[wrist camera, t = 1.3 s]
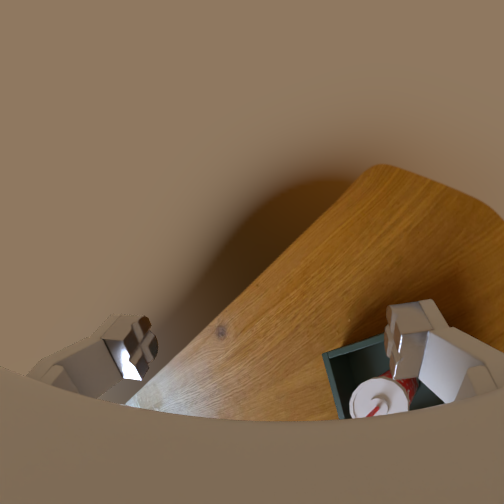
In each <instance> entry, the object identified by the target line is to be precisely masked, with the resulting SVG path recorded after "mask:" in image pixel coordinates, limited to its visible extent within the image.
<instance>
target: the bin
mask: <svg viewBox="0 0 504 504" xmlns="http://www.w3.org/2000/svg"><path fill="white" fill-rule="evenodd" d="M322 357H323V360H324V364H325V368H326V371H327V375H328V379H329V382H330V386H331V390H332V393H333V397H334V401H335V405H336V408H337V412H338V416H339V420H340V419H352V417H351V415H350V406H349V402H350V399H351V397H352V394H353V392H354V391H355V390H356V388H357V387H358V386H359V385H360V384H361V383H363V382H365V381H367V380H369V379H371V378H373V377H378V376H380V375H382V374H383V373H385V372H387V371H388V370H390V367H389V363H390V358H389V357H387V356H386V352H385V346H384V332H383V333H380V334H378V335H375V336H372V337H369V338H366V339H363V340H361V341H358V342H355V343H352V344H349V345H346V346H342V347H340V348H337V349H334V350H331V351H328V352H325V353H323V354H322ZM441 404H445V402H444V401H442V400H441V399H440V398H439V397H438V396H437V395H436V394H435V393H434V392H433V391H432V390H430V389H429V388H428V387H427V386H426V385H425V384H424V383H423V382H422V381H421V380H419V386H418V389H417V391H416V393H415V396H414V398H413V400H412V402H411V404H410V406H409V411H411V410H417V409H422V408H427V407H432V406H436V405H441Z"/></svg>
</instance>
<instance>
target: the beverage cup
mask: <svg viewBox="0 0 504 504" xmlns="http://www.w3.org/2000/svg"><path fill="white" fill-rule="evenodd" d="M418 386H419V379H418V377H416V378H409V379H401V380H393V379H392V375H391V371H390V370H388V371H387V372H385V373H383V374H382V375H380V376H378V377H373V378H371V379H369V380H367V381H365V382H363V383H361V384H360V385H359V386H358V387H357V388H356V390H355V391H354V392H353V394H352V397H351V399H350V402H349V406H350V415H351V417H352V418H362V417H371V416H379V415H386V414H393V413H399V412H405V411H409V406H410V404H411V402H412V400H413V398H414V396H415V393H416V391H417V389H418Z"/></svg>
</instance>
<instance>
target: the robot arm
mask: <svg viewBox="0 0 504 504" xmlns="http://www.w3.org/2000/svg"><path fill="white" fill-rule="evenodd" d="M386 318H387V321H388V325H387V326H386V327H385V331H384V346H385V352H386V356H387V357H389V358H390V363H389V367H390V371H391V375H392V379H393V380H401V379H409V378H416V377H418V379H419V380H421V381H422V382H423V383H424V384H425V385H426V386H427V387H428V388H429V389H430V390H432V391H433V392H434V393H435V394H436V395H437V396H438V397H439V398H440V399H441V400H442V401H444V402H445V404H441V405H436V406H432V407H427V408H422V409H417V410H411V411H405V412H399V413H393V414H386V415H379V416H371V417H362V418H352V419H340V420H324V421H245V420H228V419H215V418H205V417H195V416H187V415H179V414H172V413H165V412H159V411H153V410H147V409H142V408H137V407H131V406H127V405H122V404H117V403H113V402H108V401H104V400H100V399H97V398H98V397H100V396H101V395H102V394H104V393H105V392H106V391H107V390H109V389H110V388H112V387H113V386H114V385H115V384H116V383H118V382H120V381H121V380H122V379H123V378H128V379H136V380H142V379H143V377H144V376H145V374H146V372H147V371H148V369H149V366H148V363H150V362H151V361H153V360H154V359H155V357H156V355H157V352H158V342H157V338H156V336H155V335H154V334H153V333H152V332H151V331H150V328H151V323H150V321H149V318H147V317H146V316H140V315H121V314H113V315H110V316H109V317H108V318H107V319H106V320H105V321H104V323H102V325H101V326H100V327H99V328H98V329H97V330H96V331H95V332H94V333H93V334H92V335H91V337H90V338H89V337H87V338H84V339H82V340H80V341H78V342H76V343H74V344H72V345H70V346H68V347H66V348H64V349H62V350H60V351H58V352H56V353H54V354H52V355H50V356H48V357H45V358H43V359H41V360H40V361H39V362H38V363H37V364H36V365H35V366H34V368H33V369H32V370H31V371H30V372H29V373H28V374H27V375H26V376H24V375H21V374H18V373H16V372H13V371H11V370H9V369H6V368H4V367H1V366H0V504H504V353H502V352H500V351H498V350H497V349H495V348H493V347H491V346H489V345H487V344H485V343H483V342H482V341H480V340H478V339H476V338H474V337H472V336H470V335H468V334H466V333H464V332H462V331H460V330H459V329H457V328H455V327H450V328H449V326H448V324H447V322H446V321H445V319H444V317H443V316H442V314H441V312H440V311H439V309H438V308H437V306H436V304H435V303H434V301H433V300H432V299H427V300H421V301H417V302H410V303H402V304H395V305H388V306H387V310H386Z"/></svg>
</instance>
